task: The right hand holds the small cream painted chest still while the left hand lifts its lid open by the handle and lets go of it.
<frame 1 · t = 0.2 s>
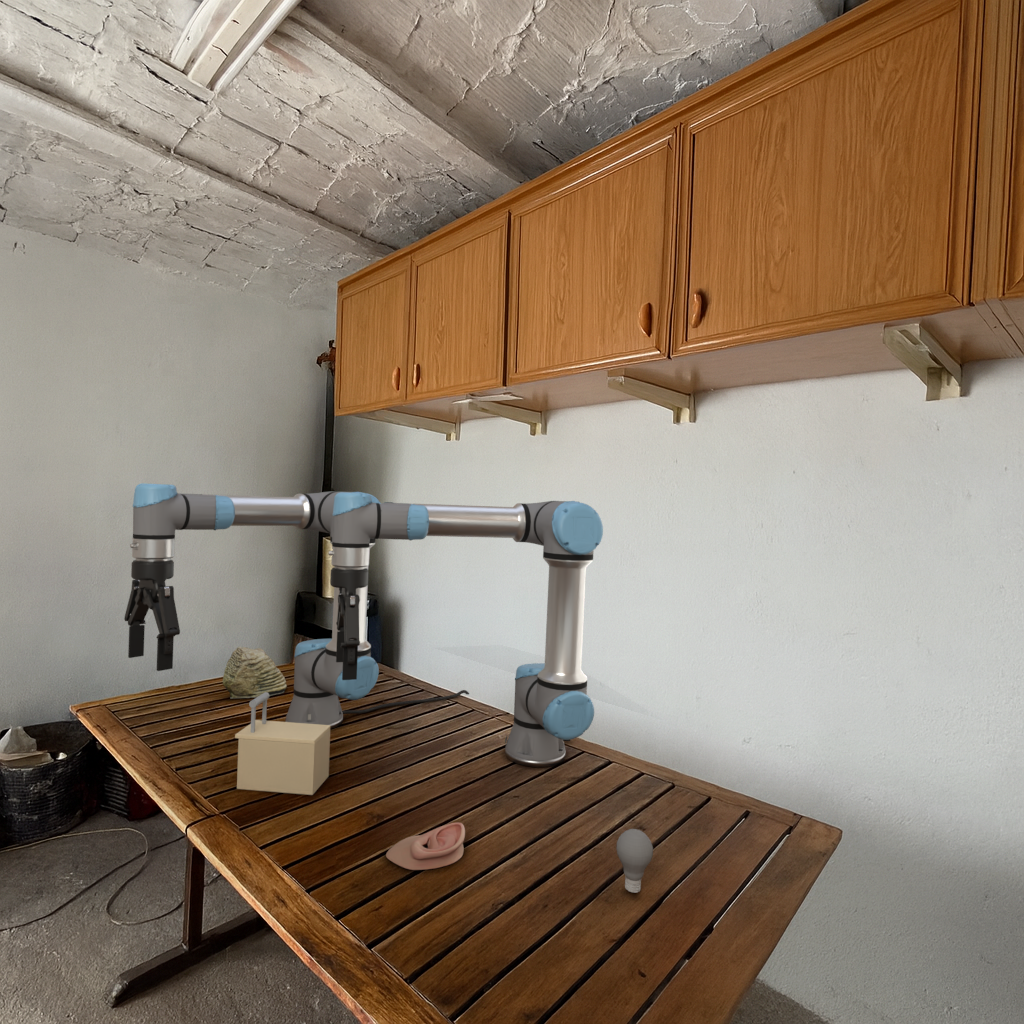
left hand: (149, 663, 129), 28 cm above the table, tool pointing down, fingers open, 13 cm apart
right hand: (345, 670, 130), 28 cm above the table, tool pointing down, fingers open, 13 cm apart
anatomical model: (426, 854, 114), on the table
light bulb: (632, 891, 106), on the table
fossil: (254, 694, 198), on the table
lid: (284, 715, 139), point 15 cm above the table, hinge at 0.0°
chest: (283, 782, 140), on the table
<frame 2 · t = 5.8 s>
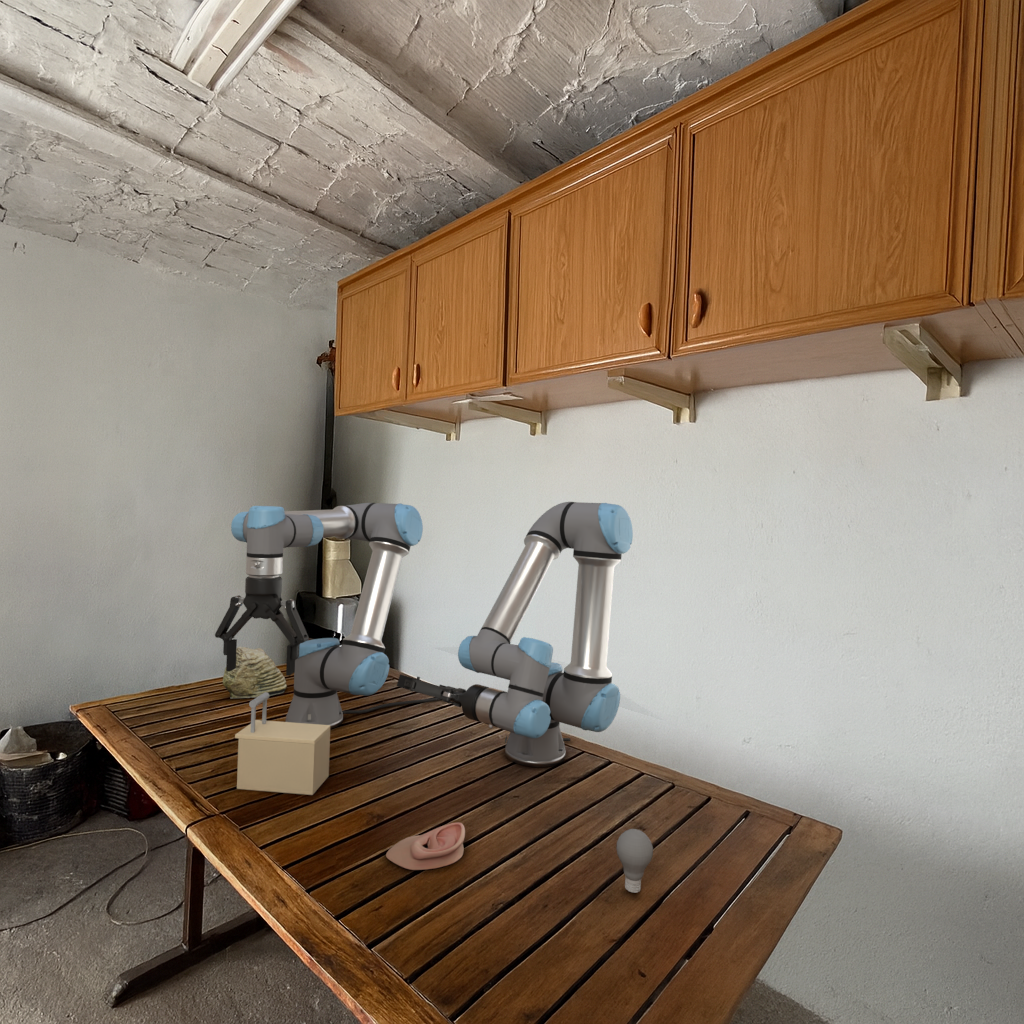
left hand: (260, 672, 140), 24 cm above the table, tool pointing down, fingers open, 13 cm apart
right hand: (419, 685, 151), 19 cm above the table, tool horizontal, fingers open, 13 cm apart
nothing on the table moved.
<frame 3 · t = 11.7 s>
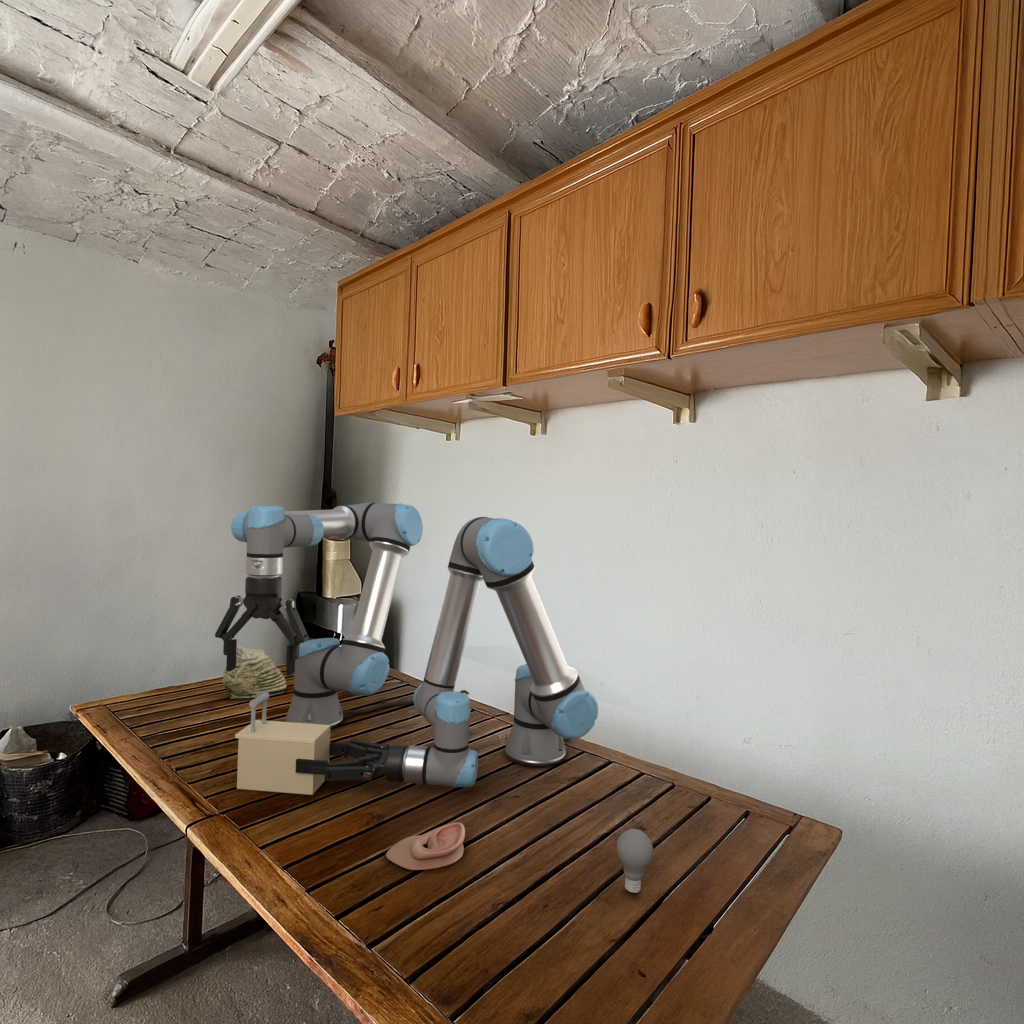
left hand: (260, 672, 140), 24 cm above the table, tool pointing down, fingers open, 13 cm apart
right hand: (305, 756, 139), 6 cm above the table, tool horizontal, fingers closed on chest, 9 cm apart
chest: (283, 782, 140), on the table, touching right hand
everything else where it was.
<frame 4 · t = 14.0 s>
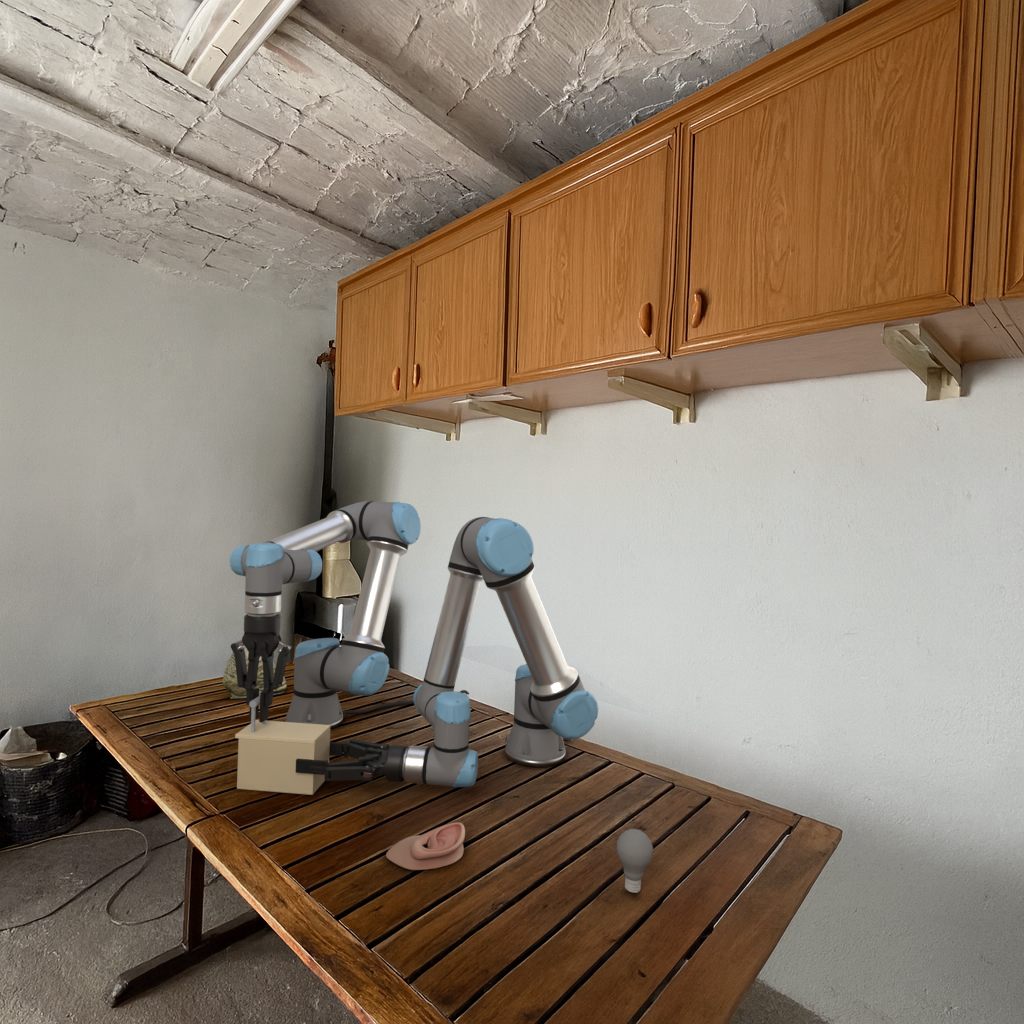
left hand: (258, 719, 140), 14 cm above the table, tool pointing down, fingers closed on lid, 2 cm apart
right hand: (305, 756, 139), 6 cm above the table, tool horizontal, fingers closed on chest, 9 cm apart
lid: (284, 715, 139), point 15 cm above the table, hinge at -0.1°, touching left hand
chest: (284, 782, 140), on the table, touching right hand
everything else where it was.
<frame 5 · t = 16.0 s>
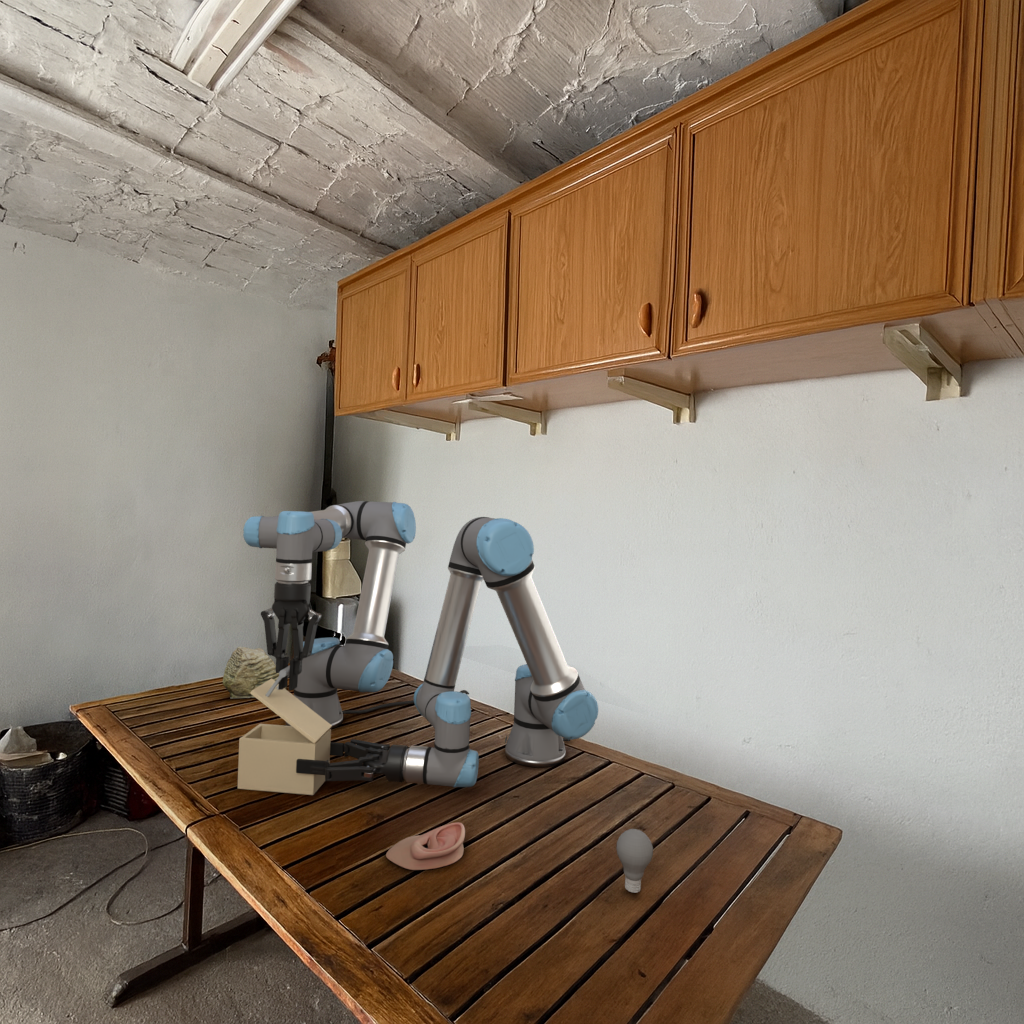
left hand: (287, 687, 139), 21 cm above the table, tool pointing down, fingers closed on lid, 2 cm apart
right hand: (306, 756, 139), 6 cm above the table, tool horizontal, fingers closed on chest, 9 cm apart
lid: (301, 697, 139), point 19 cm above the table, hinge at 33.9°, touching left hand
chest: (284, 782, 140), on the table, touching right hand
everything else where it was.
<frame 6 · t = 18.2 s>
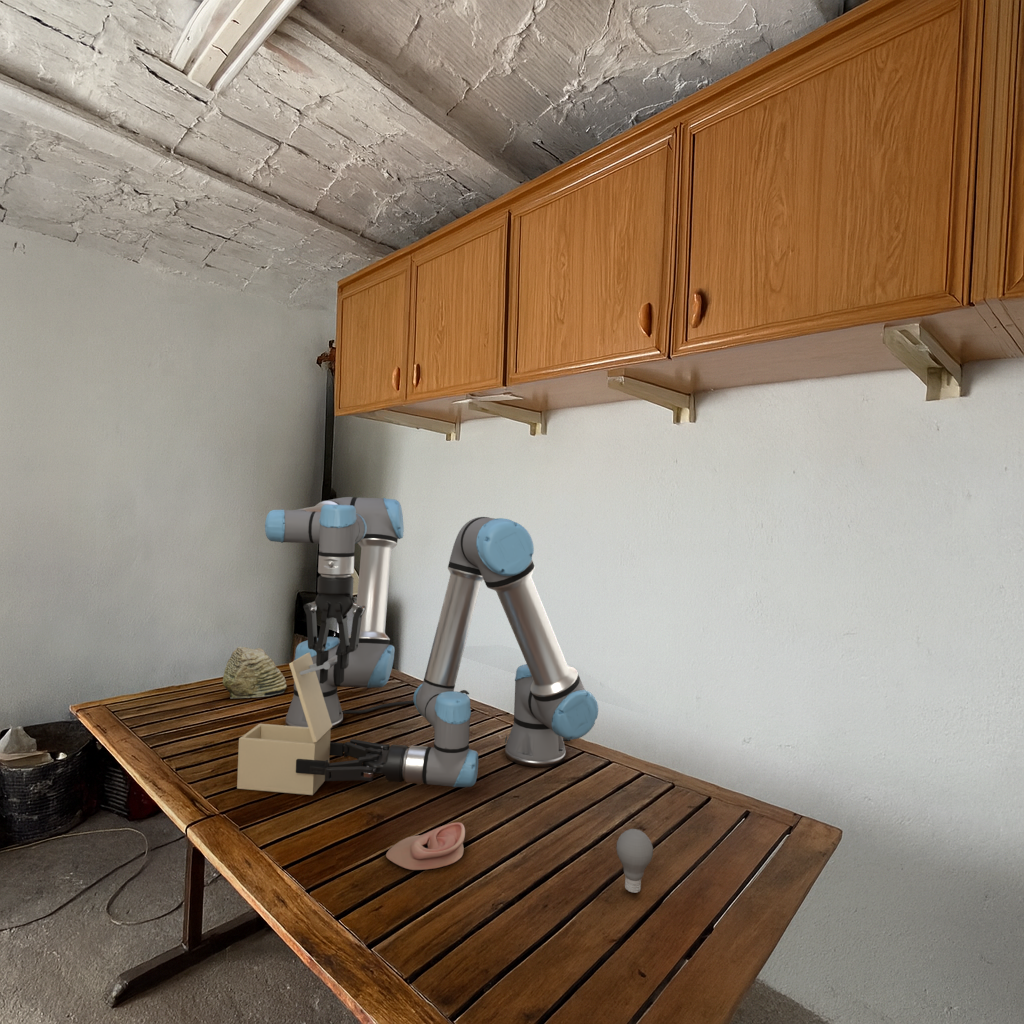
left hand: (331, 682, 138), 23 cm above the table, tool pointing down, fingers open, 3 cm apart
right hand: (306, 756, 139), 6 cm above the table, tool horizontal, fingers closed on chest, 9 cm apart
lid: (326, 691, 139), point 21 cm above the table, hinge at 70.0°
chest: (284, 782, 140), on the table, touching right hand
everything else where it was.
when the right hand's fingers open (6 cm above the table, at t = 22.2 s): chest stays where it is, on the table.
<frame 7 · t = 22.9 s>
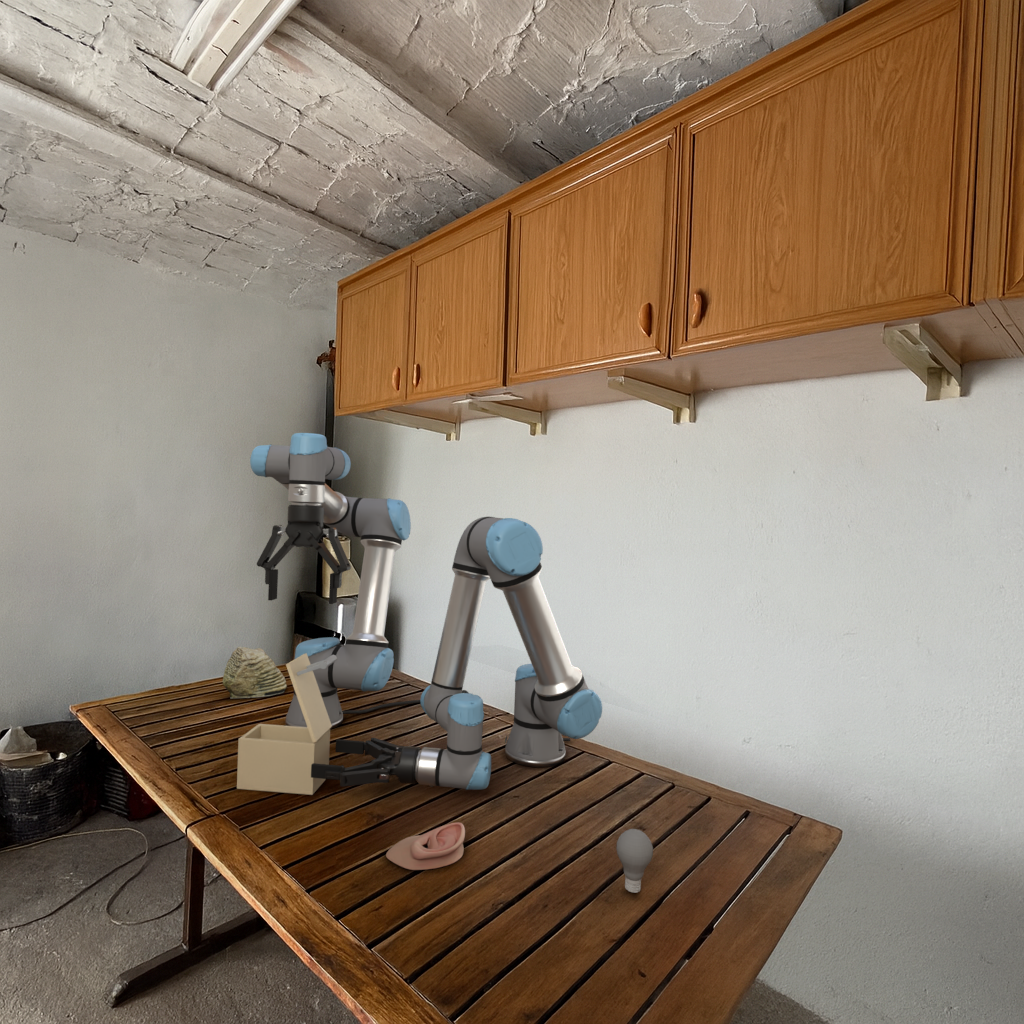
left hand: (302, 601, 139), 40 cm above the table, tool pointing down, fingers open, 13 cm apart
right hand: (324, 757, 139), 6 cm above the table, tool horizontal, fingers open, 13 cm apart
lid: (324, 691, 139), point 21 cm above the table, hinge at 68.1°
chest: (283, 782, 140), on the table
everything else where it was.
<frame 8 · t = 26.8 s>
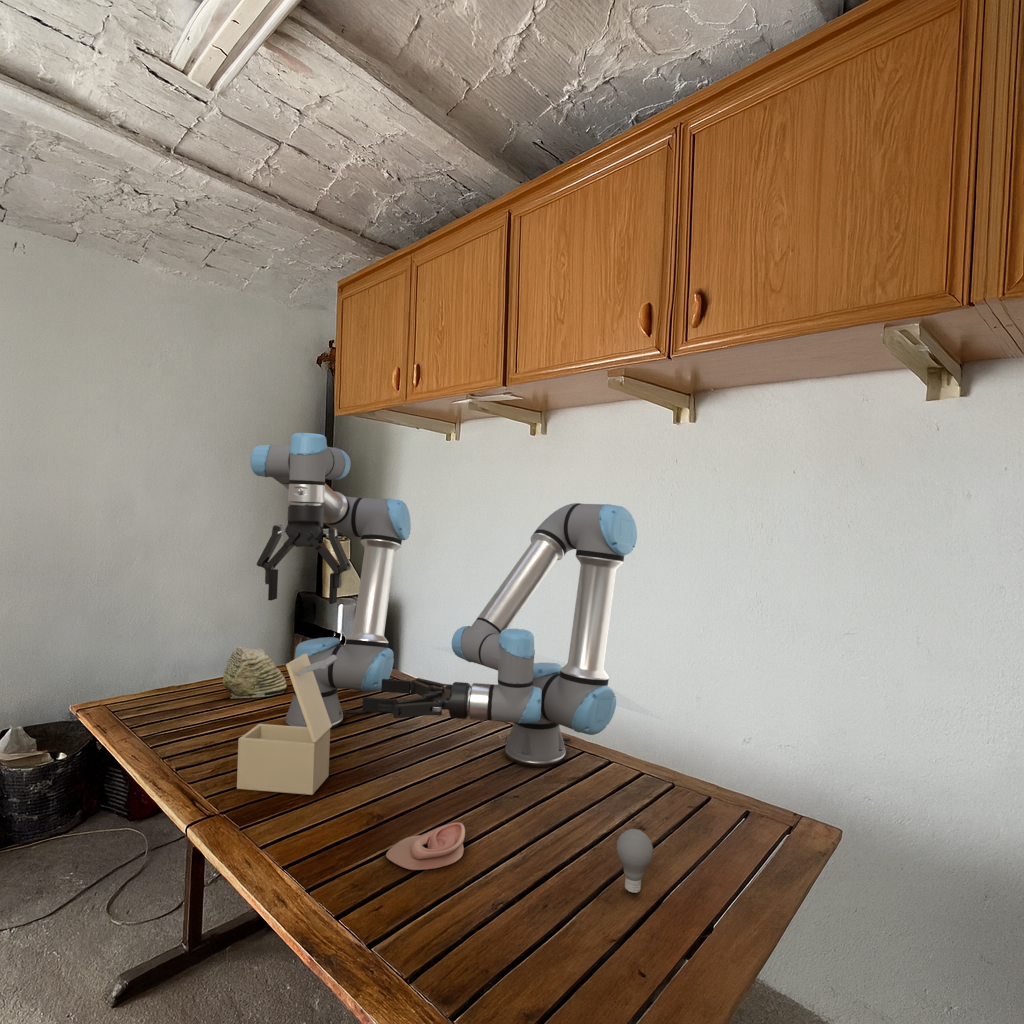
left hand: (302, 601, 139), 40 cm above the table, tool pointing down, fingers open, 13 cm apart
right hand: (372, 694, 138), 21 cm above the table, tool horizontal, fingers open, 13 cm apart
nothing on the table moved.
at the end: lid at +68° (first picture: +0°); the left hand is holding nothing; the right hand is holding nothing; chest tilted 0°; chest never tilted more than 1° during the clip; chest moved 0.1 cm from its start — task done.
